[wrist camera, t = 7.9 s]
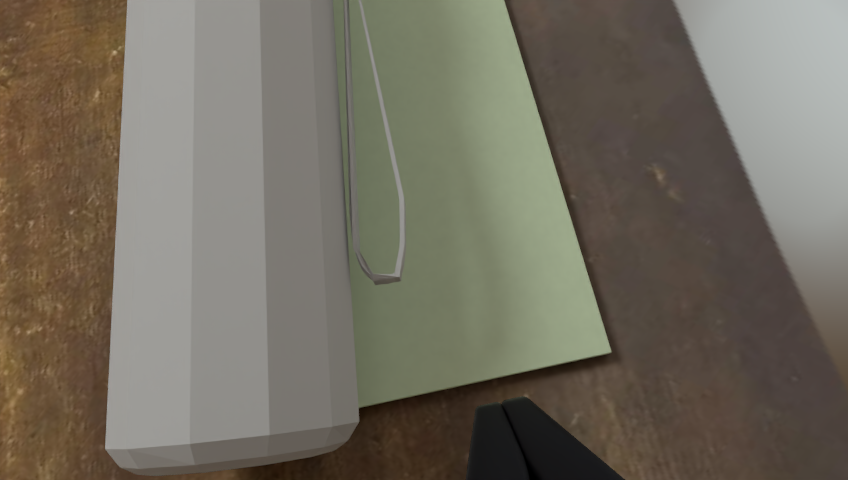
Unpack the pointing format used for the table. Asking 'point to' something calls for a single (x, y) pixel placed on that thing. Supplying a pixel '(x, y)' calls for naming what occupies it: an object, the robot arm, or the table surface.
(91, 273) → the table surface
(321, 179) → the water bottle
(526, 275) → the mat
